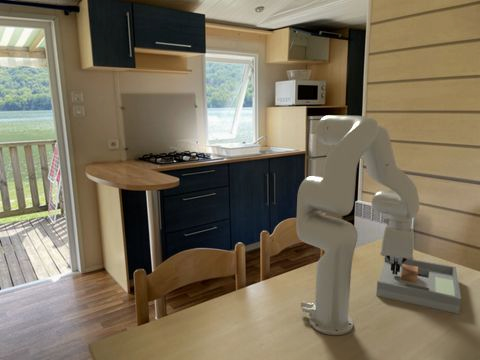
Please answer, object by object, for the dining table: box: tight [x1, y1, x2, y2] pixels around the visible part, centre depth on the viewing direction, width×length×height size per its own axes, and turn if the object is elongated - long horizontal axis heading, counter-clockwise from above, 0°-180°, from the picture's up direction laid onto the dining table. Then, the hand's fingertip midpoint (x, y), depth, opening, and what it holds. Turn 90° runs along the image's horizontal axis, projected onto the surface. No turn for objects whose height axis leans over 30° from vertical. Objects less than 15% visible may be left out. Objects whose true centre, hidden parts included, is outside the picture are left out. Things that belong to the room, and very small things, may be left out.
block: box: [401, 264, 418, 283], centre depth 130 cm, size 5×5×4 cm
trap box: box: [375, 257, 462, 315], centre depth 128 cm, size 24×25×5 cm
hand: (394, 272), depth 132 cm, fingers closed
